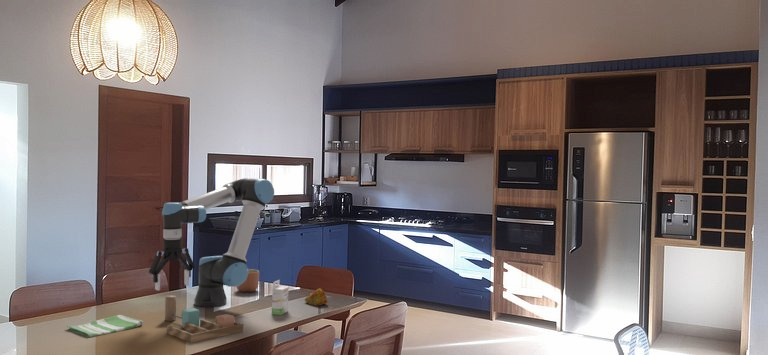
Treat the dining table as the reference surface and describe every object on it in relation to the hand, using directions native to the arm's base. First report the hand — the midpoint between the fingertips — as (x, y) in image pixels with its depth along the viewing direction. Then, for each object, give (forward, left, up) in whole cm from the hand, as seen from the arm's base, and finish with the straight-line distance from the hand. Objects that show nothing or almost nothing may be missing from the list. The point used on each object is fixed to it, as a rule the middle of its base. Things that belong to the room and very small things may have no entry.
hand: (172, 287), depth 253 cm
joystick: (+8, -1, -14) cm, 16 cm away
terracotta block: (+30, +7, -14) cm, 34 cm away
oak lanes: (+27, -1, -14) cm, 30 cm away
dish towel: (-6, -25, -15) cm, 30 cm away
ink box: (+21, +42, -14) cm, 49 cm away
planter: (-29, +60, -14) cm, 68 cm away
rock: (+18, +68, -14) cm, 72 cm away
